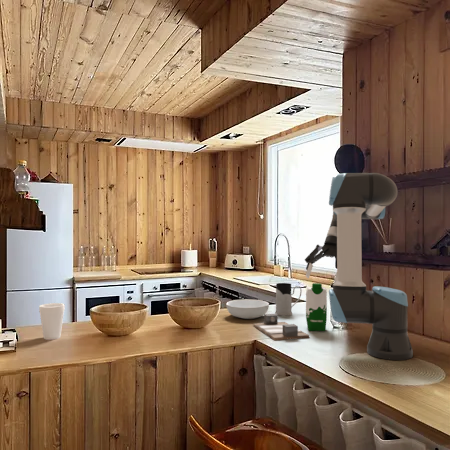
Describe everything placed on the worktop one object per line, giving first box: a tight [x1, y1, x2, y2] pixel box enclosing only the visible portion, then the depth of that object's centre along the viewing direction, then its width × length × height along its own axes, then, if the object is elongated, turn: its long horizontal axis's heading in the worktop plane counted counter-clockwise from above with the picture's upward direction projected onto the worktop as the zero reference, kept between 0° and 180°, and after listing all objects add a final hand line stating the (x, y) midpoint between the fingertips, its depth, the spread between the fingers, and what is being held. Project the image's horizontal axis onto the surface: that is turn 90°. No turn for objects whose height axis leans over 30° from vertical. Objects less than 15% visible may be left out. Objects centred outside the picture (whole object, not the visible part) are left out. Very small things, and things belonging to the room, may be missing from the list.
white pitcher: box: [274, 282, 302, 316], centre depth 229 cm, size 9×14×15 cm, turn 107°
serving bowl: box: [225, 298, 270, 320], centre depth 220 cm, size 21×21×7 cm
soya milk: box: [305, 282, 328, 332], centre depth 195 cm, size 9×9×20 cm
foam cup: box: [38, 302, 66, 341], centre depth 180 cm, size 10×9×13 cm
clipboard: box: [252, 313, 310, 341], centre depth 191 cm, size 25×15×5 cm, turn 16°
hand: (321, 279), depth 200 cm, fingers open, 13 cm apart
